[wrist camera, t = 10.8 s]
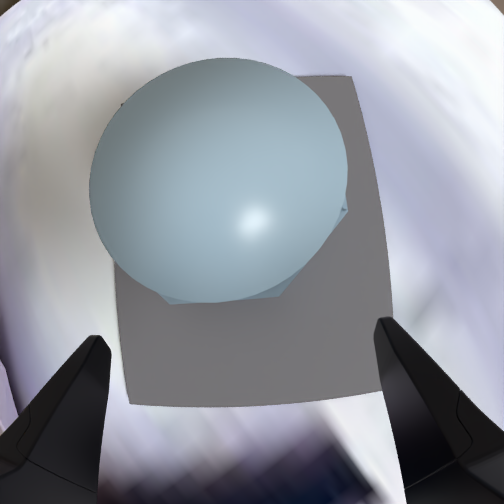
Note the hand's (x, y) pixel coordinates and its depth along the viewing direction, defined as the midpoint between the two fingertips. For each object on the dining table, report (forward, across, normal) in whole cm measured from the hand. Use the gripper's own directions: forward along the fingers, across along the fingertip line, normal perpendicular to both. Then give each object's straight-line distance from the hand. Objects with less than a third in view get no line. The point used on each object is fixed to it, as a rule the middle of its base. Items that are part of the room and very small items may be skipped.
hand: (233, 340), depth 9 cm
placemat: (+9, 0, +2) cm, 9 cm away
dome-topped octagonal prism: (+9, 0, +2) cm, 9 cm away
